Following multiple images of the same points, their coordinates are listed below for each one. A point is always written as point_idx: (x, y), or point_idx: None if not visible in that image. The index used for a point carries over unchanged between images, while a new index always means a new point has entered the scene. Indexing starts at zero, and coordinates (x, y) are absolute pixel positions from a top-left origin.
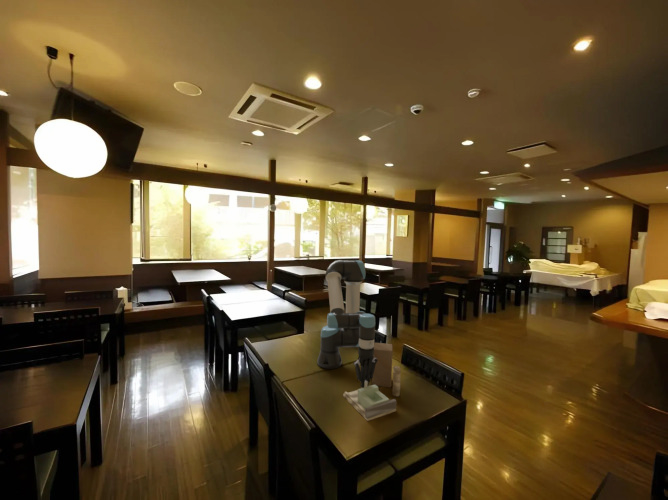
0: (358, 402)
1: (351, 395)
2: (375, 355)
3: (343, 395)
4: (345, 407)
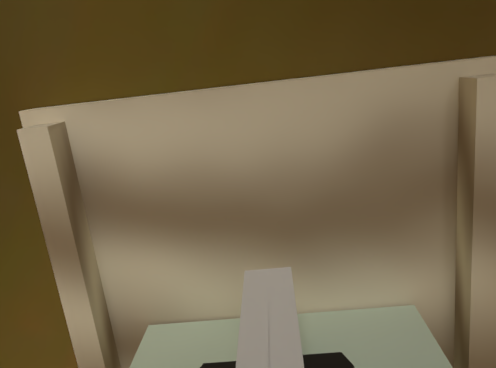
0: None
1: (124, 184)
2: None
3: (30, 120)
4: (3, 321)
